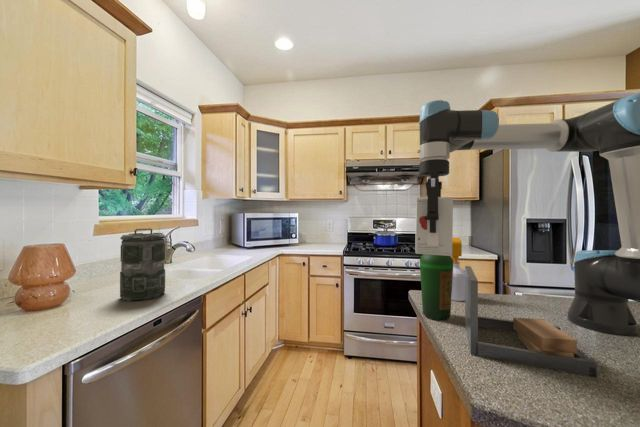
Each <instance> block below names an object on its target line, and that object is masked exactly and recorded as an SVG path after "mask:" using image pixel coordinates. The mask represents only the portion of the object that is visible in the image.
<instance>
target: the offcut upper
mask: <svg viewBox="0 0 640 427" xmlns="http://www.w3.org/2000/svg"><path fill="white" fill-rule="evenodd" d="M512 319H513V329H515V330H516V331H517V332H519V333H520V334H521V335H522V336H524V337H525V338H526V339H528V340H529V341H530V342H532V343H533V344H534V345H535V346H537V347H538V348H539V349H541V350H542V351H551V352H563V353H576V354H577V349H578V340H577V339H575V338H574V337H572V336H571V335H569V334H567V333H566V332H564V331H562V330H559V329H557V328H555V327H554V326H555V325H552V324H550V323H548V321H545V320H544V319H542V318H541V319H540V318H527V317H526V318H525V317H513V318H512Z"/></svg>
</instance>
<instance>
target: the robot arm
mask: <svg viewBox="0 0 640 427" xmlns="http://www.w3.org/2000/svg"><path fill="white" fill-rule="evenodd" d="M499 118H500V117H499V115H498V113H497V112H496V111H495V110H485V109H475V110H473V109H472V110H471V109H469V110H453V109H451V106H450V103H449V101H446V100H443V99H437V100H430V101H428V102H425V103H424V104H423V105H422V106H421V108H420V112H419V121H418V125H419V149H418V150H417V151H416V153H417V154H419V161H420V163H419V168H418V171H419V172H418V174H419V176H421V177H424V178H427V180H426V182H425V189H426V197H428V204H427V216H424V219H425V220H427V246H439V220H438V219H439V217H438V216H439V214H438V197H442V190H443V181H440V179H439V178H440V177H446V176H448V175H449V174H450V161H449V159H450V154H451V153H453V152H455V151H472V150H473V151H475V150H478V151H479V150H480V151H481V150H484V151H486V150H487V151H488V150H533V149H542V150H543V149H546V150H547V151H549V152H554V153H555V152H557V153H558V152H562V153H563V152H565V153H567V152H568V153H569V152H577V153H578V152H580V153H581V152H582V153H583V152H587V153H588V152H596V151H598V153H599V156H600V157H603V158H605V160H607V161H608V166H609V170H610V172H609V173H610V180H611V184H612V191H613V198H614V204H615V210H616V217H617V218H616V219H617V223H618V224H617V225H618V232H619V237H620V238H619V239H620V245H621V247H620V248H619V249H618V250H609V249H608V250H607V249H606V250H600V249H598V250H596V249H595V250H592V249H591V250H587V249H586V250H578V251H576V253H575V255H574V262H573V266H574V267H573V270H574V297H573V299H572V302H571V303H570V306H569V308H568V310H567V320H568V321H569V322H570V323H572V324H575V325H577V326H580V327H582V328H585V329H589V330H593V331H597V332H600V333H606V334H607V333H608V334H614V335H621V336H622V335H623V336H625V335H626V336H627V335H628V336H630V335H631V336H632V335H637V334H638V332H639V326H638V322H637V321H636V318H635V315H634V313H633V311H632V309H631V307H630V303H629V301H633V302H637V303H640V92H637V93H634V94H632V95H627V96H624V97H621V98H620V99H618V100H614V101H613V102H612V101H611V103H608V104H606V105H604V106H601V107H598V108H596V109H593V110H591V111H588V112H586V113H583V114H580V115H576V116H574V117H570V118H566V119H563V118H562V119H555V120H553V121H552V122H547V123H511V124H510V123H509V124H508V123H507V124H502V123H501V124H500V119H499Z"/></svg>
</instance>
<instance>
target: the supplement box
mask: <svg viewBox="0 0 640 427" xmlns="http://www.w3.org/2000/svg"><path fill="white" fill-rule="evenodd" d="M453 199H454V198H453V197H452V196H451V197H449V196H445V197H444V196H441V197H438V214H439V216H438V217H439V219H438V220H439V246H427V220H425V219H424V216H427V204H428V197H427V196H425V197H420V196H419V197H416V199H415V200H416V203H415V204H416V205H415V245H414V246H415V250H414V251H415V254H417V255H423V254H428V255H444V256H452V238H453V224H454V223H453V222H454V220H453V218H454V217H453V214H454V200H453Z"/></svg>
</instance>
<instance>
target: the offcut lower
mask: <svg viewBox="0 0 640 427" xmlns="http://www.w3.org/2000/svg"><path fill="white" fill-rule="evenodd" d="M517 338H518V339H519V340H520V342H521V343H522V344H523V345H524V346H525V348H526V350H532V351H538V352H544V353H550V354H557V355H563V356H569V357H574V354H573V353H563V352H551V351H542V350H541V349H539V348H538V347H537V346H535V345H534V344H533V343H532V342H530V341H529V340H528V339H526V338H525V337H524V336H522V335H521V334H520V333H519V332H518V333H517Z"/></svg>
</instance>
